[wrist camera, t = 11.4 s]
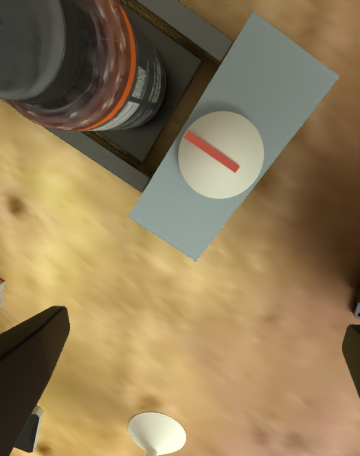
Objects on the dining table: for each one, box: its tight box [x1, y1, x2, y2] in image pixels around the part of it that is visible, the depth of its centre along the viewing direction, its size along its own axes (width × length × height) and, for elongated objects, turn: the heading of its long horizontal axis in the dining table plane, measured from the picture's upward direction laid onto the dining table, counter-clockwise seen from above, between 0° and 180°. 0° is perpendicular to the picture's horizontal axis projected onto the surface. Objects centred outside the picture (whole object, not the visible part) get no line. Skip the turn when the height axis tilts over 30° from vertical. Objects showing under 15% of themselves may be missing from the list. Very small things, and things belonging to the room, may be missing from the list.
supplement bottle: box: [0, 0, 166, 131], centre depth 13 cm, size 6×6×11 cm
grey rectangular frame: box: [2, 0, 233, 192], centre depth 17 cm, size 20×11×2 cm, turn 57°
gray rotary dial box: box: [129, 11, 340, 261], centre depth 17 cm, size 5×12×6 cm, turn 147°
